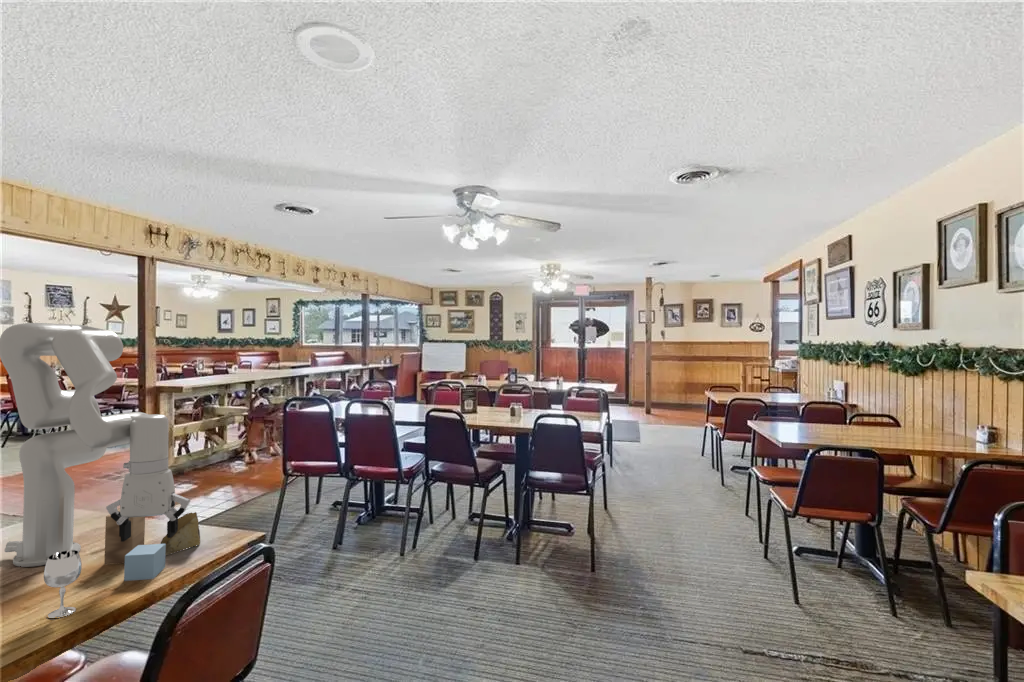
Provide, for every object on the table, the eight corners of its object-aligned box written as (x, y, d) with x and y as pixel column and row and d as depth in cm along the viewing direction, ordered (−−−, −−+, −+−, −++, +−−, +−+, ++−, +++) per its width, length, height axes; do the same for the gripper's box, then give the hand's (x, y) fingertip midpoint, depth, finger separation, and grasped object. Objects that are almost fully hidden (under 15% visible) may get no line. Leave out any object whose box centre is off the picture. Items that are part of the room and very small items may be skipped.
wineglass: (47, 609, 102) (49, 552, 102) (83, 603, 105) (85, 547, 105) (37, 624, 97) (39, 563, 97) (75, 616, 100) (77, 557, 100)
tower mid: (105, 540, 122) (105, 516, 122) (118, 531, 128) (119, 508, 128) (132, 539, 124) (133, 515, 124) (144, 530, 130) (145, 507, 130)
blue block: (124, 581, 115) (124, 555, 115) (137, 569, 121) (138, 545, 121) (153, 579, 116) (154, 553, 116) (164, 567, 122) (165, 543, 122)
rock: (153, 554, 124) (199, 541, 129) (151, 521, 128) (196, 510, 133) (159, 565, 132) (203, 552, 137) (157, 533, 136) (200, 522, 141)
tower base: (104, 564, 122) (105, 540, 122) (117, 554, 128) (118, 531, 128) (131, 562, 124) (132, 539, 124) (143, 552, 130) (144, 530, 130)
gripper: (98, 472, 113) (97, 547, 113) (183, 468, 117) (182, 540, 116) (116, 464, 120) (116, 535, 120) (195, 460, 124) (195, 528, 124)
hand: (149, 537), depth 118 cm, fingers open, 9 cm apart
